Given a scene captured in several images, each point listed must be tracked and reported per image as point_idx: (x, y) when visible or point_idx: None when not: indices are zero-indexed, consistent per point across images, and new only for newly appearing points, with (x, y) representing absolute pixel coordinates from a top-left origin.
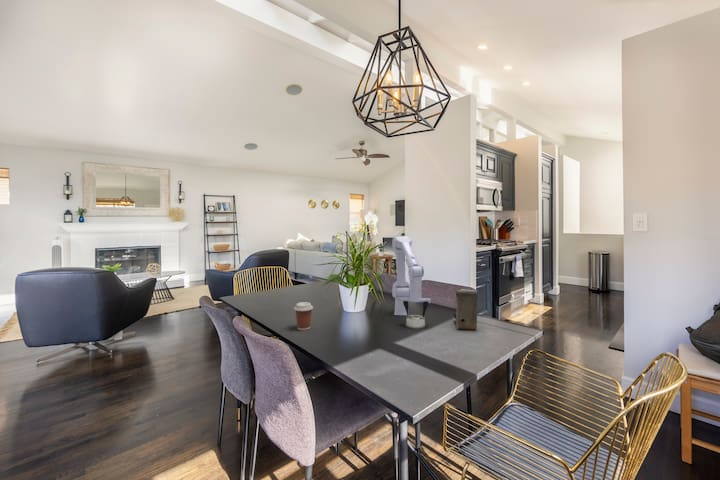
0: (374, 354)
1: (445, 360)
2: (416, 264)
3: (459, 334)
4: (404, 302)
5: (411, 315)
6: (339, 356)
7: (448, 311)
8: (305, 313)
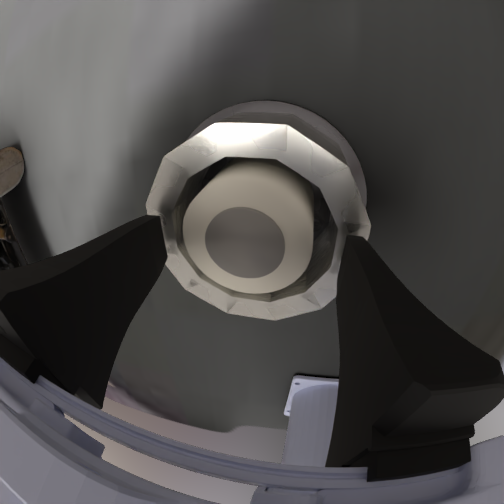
0: None
1: None
2: None
3: (14, 76)
4: (448, 446)
5: (292, 304)
6: None
7: (120, 375)
8: None
